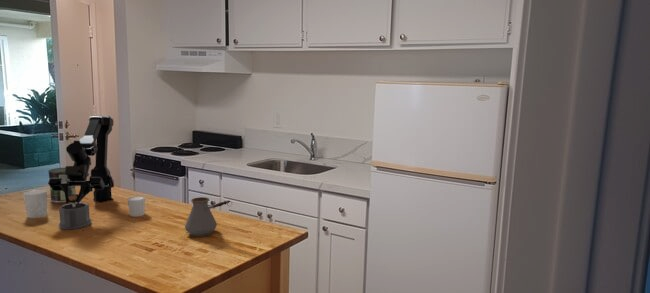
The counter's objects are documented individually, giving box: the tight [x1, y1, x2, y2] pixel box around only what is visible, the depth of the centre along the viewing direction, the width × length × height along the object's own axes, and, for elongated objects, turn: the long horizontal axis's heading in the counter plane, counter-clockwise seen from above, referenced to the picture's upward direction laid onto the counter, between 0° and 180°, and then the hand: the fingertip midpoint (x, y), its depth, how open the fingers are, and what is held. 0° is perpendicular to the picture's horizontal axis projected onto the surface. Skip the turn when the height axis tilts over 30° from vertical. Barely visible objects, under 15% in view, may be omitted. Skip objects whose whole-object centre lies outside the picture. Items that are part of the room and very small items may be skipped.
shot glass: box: [127, 195, 146, 218], centre depth 184 cm, size 7×7×7 cm
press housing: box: [58, 202, 92, 231], centre depth 169 cm, size 13×11×8 cm
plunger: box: [68, 193, 79, 209], centre depth 169 cm, size 7×7×8 cm
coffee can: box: [48, 167, 77, 204], centre depth 203 cm, size 10×10×14 cm
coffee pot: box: [184, 196, 233, 237], centre depth 160 cm, size 21×12×15 cm, turn 57°
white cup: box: [23, 189, 48, 219], centre depth 180 cm, size 8×8×10 cm
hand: (72, 202), depth 168 cm, fingers closed on plunger, 3 cm apart
